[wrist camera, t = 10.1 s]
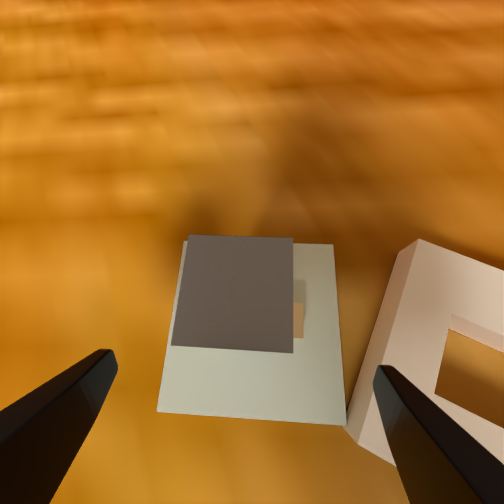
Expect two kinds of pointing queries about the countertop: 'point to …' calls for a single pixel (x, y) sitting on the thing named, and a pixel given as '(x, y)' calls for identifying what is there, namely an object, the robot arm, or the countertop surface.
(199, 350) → the key mat
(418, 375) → the cover plate
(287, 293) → the t key
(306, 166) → the countertop surface
